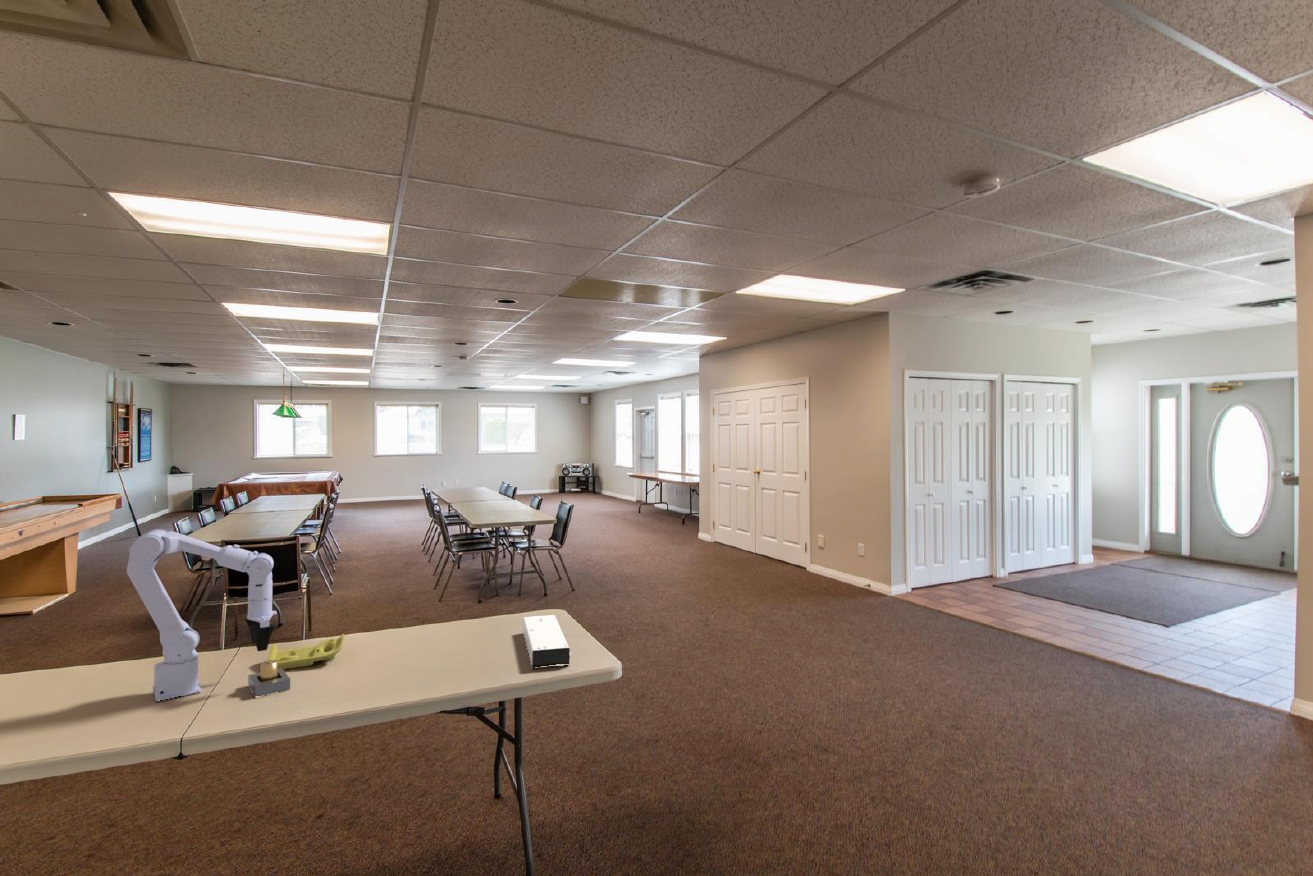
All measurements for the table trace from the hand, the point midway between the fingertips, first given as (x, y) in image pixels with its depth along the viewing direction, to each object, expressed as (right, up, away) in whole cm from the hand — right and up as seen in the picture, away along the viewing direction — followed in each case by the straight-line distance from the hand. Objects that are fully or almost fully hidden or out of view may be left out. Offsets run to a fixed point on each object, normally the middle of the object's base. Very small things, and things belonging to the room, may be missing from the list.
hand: (259, 646), depth 173 cm
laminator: (+75, -11, +30) cm, 82 cm away
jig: (+5, -10, -4) cm, 12 cm away
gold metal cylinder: (+5, -10, -4) cm, 12 cm away
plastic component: (+5, -10, +14) cm, 18 cm away
